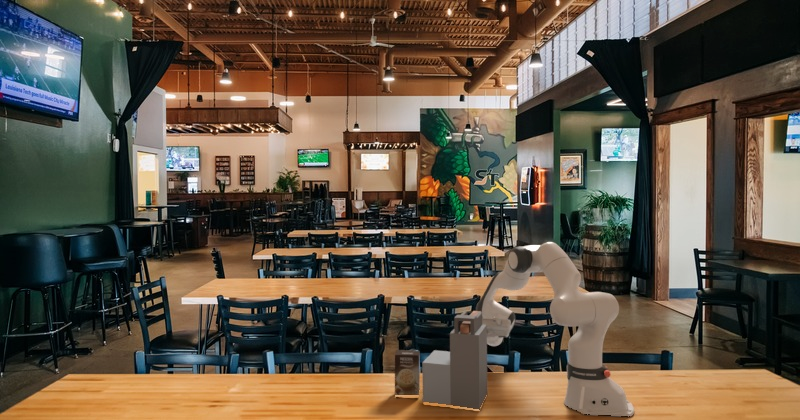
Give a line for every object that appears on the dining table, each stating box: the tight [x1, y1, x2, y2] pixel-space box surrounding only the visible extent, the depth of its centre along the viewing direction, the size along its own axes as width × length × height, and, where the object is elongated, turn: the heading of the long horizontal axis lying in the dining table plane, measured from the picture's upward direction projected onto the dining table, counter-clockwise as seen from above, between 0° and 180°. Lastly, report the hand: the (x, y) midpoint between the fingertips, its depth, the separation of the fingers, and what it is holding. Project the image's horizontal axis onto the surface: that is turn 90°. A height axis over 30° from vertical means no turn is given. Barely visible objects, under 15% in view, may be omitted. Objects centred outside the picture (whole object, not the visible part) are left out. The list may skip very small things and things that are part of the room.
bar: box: [460, 310, 481, 334], centre depth 189 cm, size 3×24×3 cm, turn 161°
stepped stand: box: [421, 310, 488, 411], centre depth 186 cm, size 20×16×32 cm
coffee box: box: [394, 349, 421, 396], centre depth 191 cm, size 9×6×16 cm
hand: (483, 318), depth 212 cm, fingers open, 8 cm apart
